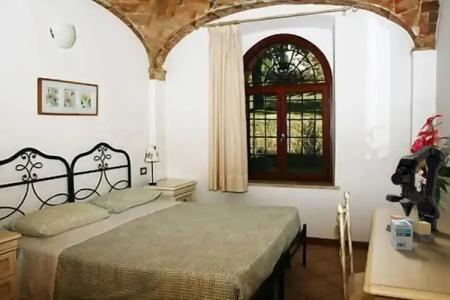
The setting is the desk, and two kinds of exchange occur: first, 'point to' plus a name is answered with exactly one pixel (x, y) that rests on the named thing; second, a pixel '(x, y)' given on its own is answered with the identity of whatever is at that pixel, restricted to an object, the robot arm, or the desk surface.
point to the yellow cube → (422, 228)
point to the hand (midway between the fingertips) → (407, 216)
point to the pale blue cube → (410, 222)
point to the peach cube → (396, 217)
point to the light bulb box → (401, 234)
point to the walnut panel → (417, 236)
